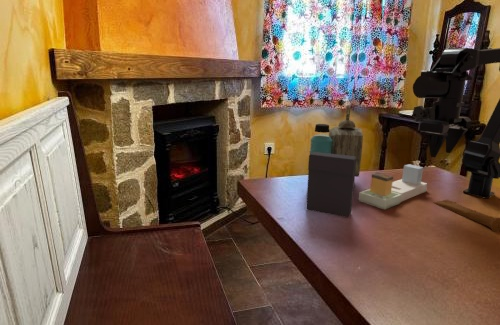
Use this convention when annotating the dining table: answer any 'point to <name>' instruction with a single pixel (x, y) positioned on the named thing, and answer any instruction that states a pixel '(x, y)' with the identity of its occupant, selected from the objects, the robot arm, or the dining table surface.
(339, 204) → the upright charcoal panel
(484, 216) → the primitive tool
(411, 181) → the block
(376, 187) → the block
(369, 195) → the parts tray
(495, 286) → the dining table surface
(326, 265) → the dining table surface
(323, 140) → the beverage bottle
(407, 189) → the white flat block
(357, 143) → the grey brown pump bottle
